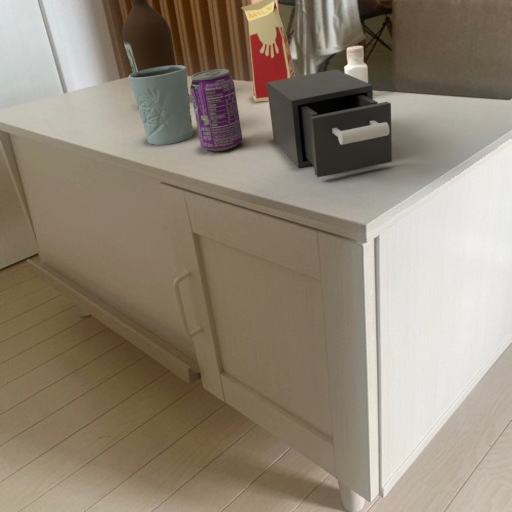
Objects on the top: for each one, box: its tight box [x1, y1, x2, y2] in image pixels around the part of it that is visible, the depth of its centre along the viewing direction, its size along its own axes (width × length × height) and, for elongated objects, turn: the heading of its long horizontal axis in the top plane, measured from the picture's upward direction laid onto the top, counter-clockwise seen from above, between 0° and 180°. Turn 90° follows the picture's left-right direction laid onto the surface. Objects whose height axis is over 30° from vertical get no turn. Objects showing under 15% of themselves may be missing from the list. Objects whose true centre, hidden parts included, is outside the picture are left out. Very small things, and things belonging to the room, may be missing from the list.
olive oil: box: [121, 0, 177, 74], centre depth 120 cm, size 11×11×25 cm
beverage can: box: [189, 68, 243, 152], centre depth 88 cm, size 7×7×12 cm
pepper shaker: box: [343, 45, 369, 84], centre depth 105 cm, size 4×4×10 cm
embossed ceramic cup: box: [128, 64, 194, 146], centre depth 98 cm, size 10×10×12 cm
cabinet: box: [267, 69, 374, 169], centre depth 82 cm, size 15×12×10 cm
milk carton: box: [240, 0, 296, 103], centre depth 113 cm, size 9×9×20 cm
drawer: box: [298, 93, 393, 178], centre depth 73 cm, size 18×10×8 cm, turn 12°
